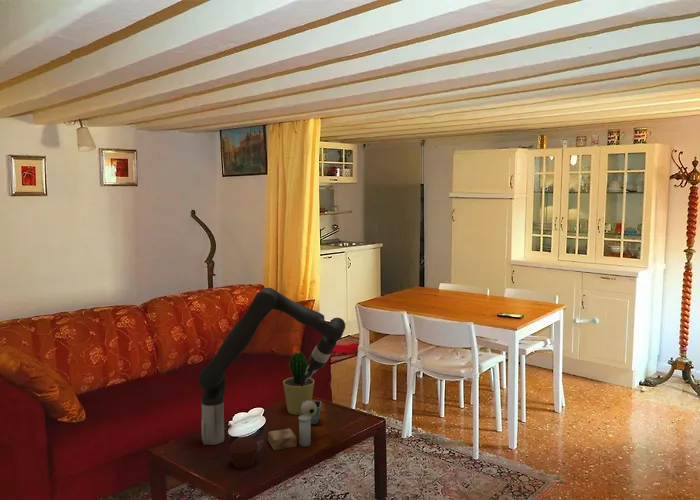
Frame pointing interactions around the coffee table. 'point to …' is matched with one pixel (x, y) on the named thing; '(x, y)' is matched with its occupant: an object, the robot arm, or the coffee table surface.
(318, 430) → the coffee table surface
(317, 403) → the flower pot
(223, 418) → the robot arm
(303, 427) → the vase
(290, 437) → the plinth
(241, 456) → the muffin
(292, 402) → the potted cactus
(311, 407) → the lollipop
